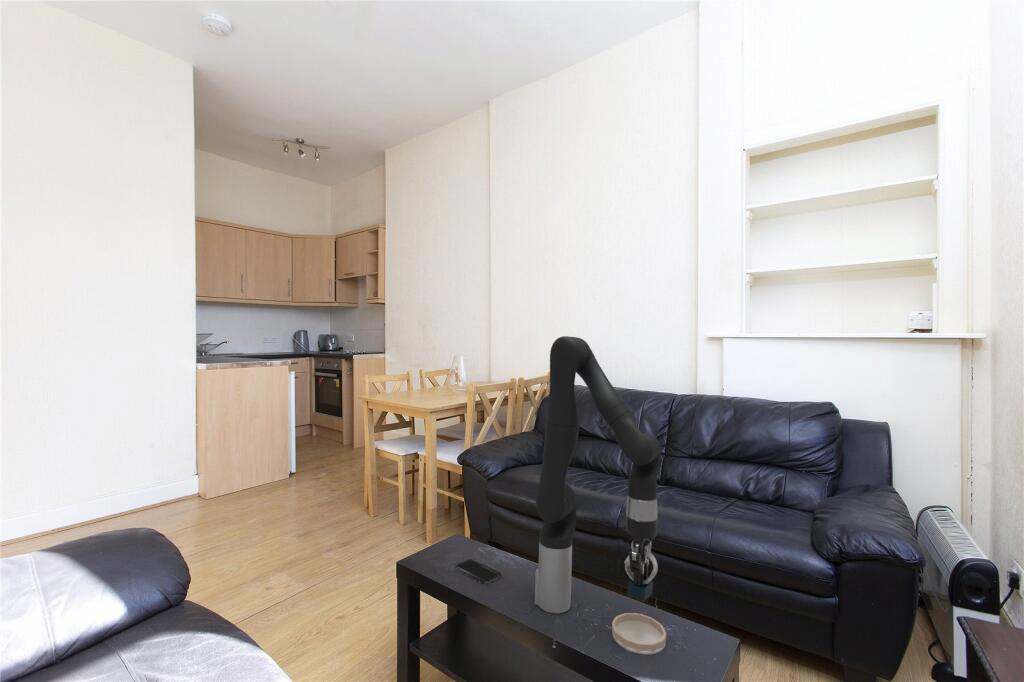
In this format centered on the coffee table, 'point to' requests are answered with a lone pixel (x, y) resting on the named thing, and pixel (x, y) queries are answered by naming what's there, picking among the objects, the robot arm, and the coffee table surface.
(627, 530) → the robot arm
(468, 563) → the phone
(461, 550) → the coffee table surface
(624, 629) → the dish
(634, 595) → the watch
